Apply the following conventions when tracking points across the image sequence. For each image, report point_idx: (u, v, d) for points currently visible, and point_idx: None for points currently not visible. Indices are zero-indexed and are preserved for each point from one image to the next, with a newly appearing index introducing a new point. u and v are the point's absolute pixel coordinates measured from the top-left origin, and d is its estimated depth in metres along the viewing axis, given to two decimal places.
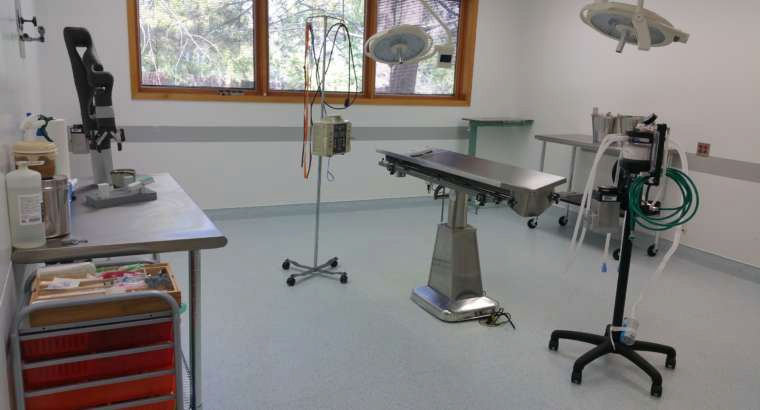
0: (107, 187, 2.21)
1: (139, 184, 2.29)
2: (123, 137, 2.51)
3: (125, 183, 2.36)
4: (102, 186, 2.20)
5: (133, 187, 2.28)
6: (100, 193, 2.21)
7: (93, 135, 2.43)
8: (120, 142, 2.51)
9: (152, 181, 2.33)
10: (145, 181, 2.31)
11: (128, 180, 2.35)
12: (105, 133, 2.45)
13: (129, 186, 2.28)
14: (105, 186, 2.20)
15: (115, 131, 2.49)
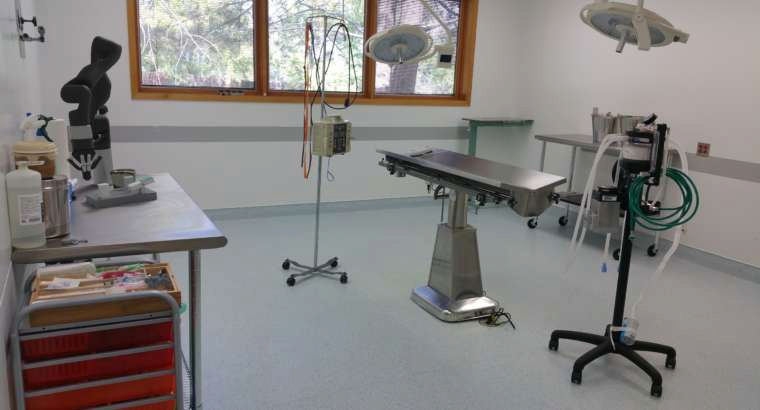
0: (107, 187, 2.21)
1: (139, 184, 2.29)
2: (95, 164, 2.16)
3: (125, 183, 2.36)
4: (102, 186, 2.20)
5: (133, 187, 2.28)
6: (100, 193, 2.21)
7: (73, 163, 2.11)
8: (89, 170, 2.15)
9: (152, 181, 2.33)
10: (145, 181, 2.31)
11: (128, 180, 2.35)
12: (82, 156, 2.12)
13: (129, 186, 2.28)
14: (105, 186, 2.20)
15: (93, 157, 2.16)
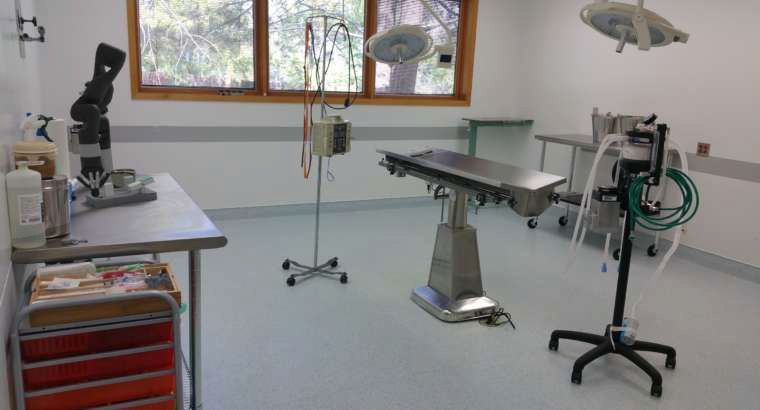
0: (111, 186, 2.22)
1: (139, 184, 2.29)
2: (103, 181, 2.20)
3: (125, 183, 2.36)
4: (106, 185, 2.21)
5: (133, 187, 2.28)
6: (104, 192, 2.22)
7: (81, 180, 2.14)
8: (97, 187, 2.19)
9: (152, 181, 2.33)
10: (145, 181, 2.31)
11: (128, 180, 2.35)
12: (90, 174, 2.16)
13: (129, 186, 2.28)
14: (109, 185, 2.21)
15: (101, 174, 2.19)
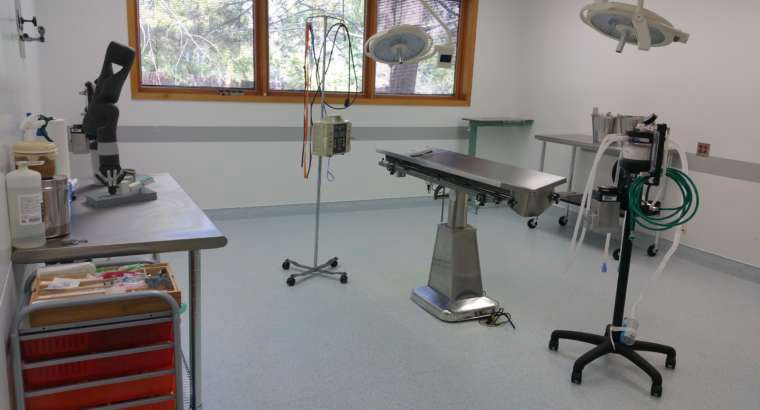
0: (128, 184, 2.26)
1: (139, 184, 2.29)
2: (120, 179, 2.24)
3: None
4: (123, 183, 2.25)
5: (133, 187, 2.28)
6: (121, 190, 2.26)
7: (99, 178, 2.19)
8: (114, 185, 2.23)
9: (152, 181, 2.33)
10: (145, 181, 2.31)
11: (128, 180, 2.35)
12: (108, 172, 2.20)
13: None
14: (126, 183, 2.26)
15: (118, 172, 2.24)
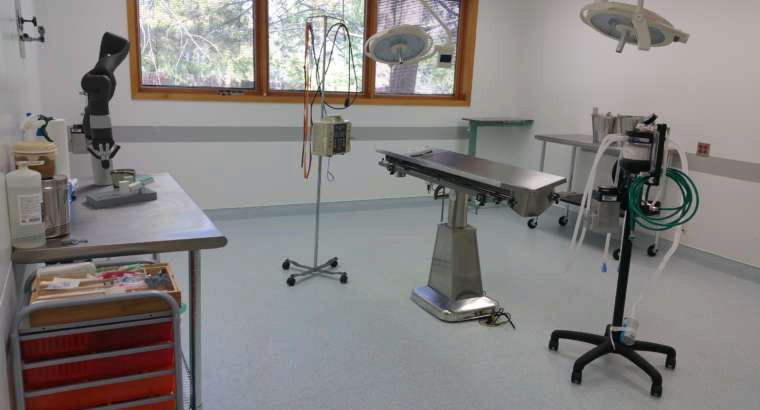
0: (127, 184, 2.26)
1: (139, 184, 2.29)
2: (113, 154, 2.20)
3: None
4: (123, 183, 2.25)
5: (133, 187, 2.28)
6: (121, 190, 2.26)
7: (91, 152, 2.16)
8: (107, 159, 2.19)
9: (152, 181, 2.33)
10: (145, 181, 2.31)
11: (128, 180, 2.35)
12: (100, 145, 2.16)
13: (129, 186, 2.28)
14: (126, 183, 2.26)
15: (111, 146, 2.20)
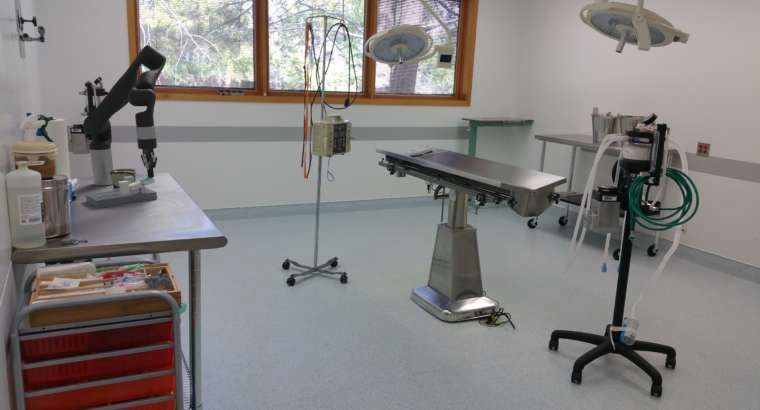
0: (127, 184, 2.26)
1: (139, 184, 2.29)
2: (149, 164, 2.29)
3: None
4: (123, 183, 2.25)
5: (133, 187, 2.28)
6: (121, 190, 2.26)
7: (142, 159, 2.34)
8: (147, 168, 2.31)
9: (152, 181, 2.33)
10: (145, 181, 2.31)
11: (128, 180, 2.35)
12: (142, 154, 2.31)
13: (129, 186, 2.28)
14: (126, 183, 2.26)
15: (148, 157, 2.29)
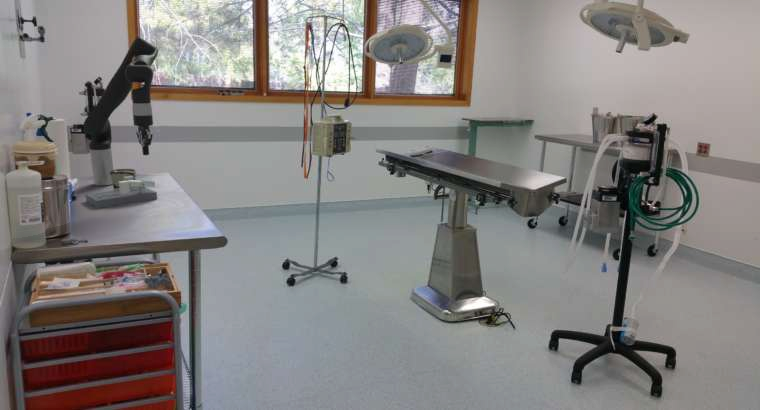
0: (127, 184, 2.26)
1: (139, 183, 2.29)
2: (144, 141, 2.27)
3: None
4: (123, 183, 2.25)
5: (133, 183, 2.27)
6: (121, 190, 2.26)
7: (137, 136, 2.32)
8: (142, 145, 2.29)
9: (152, 185, 2.33)
10: (146, 182, 2.31)
11: None
12: (138, 131, 2.29)
13: (129, 181, 2.28)
14: (126, 183, 2.26)
15: (144, 134, 2.27)
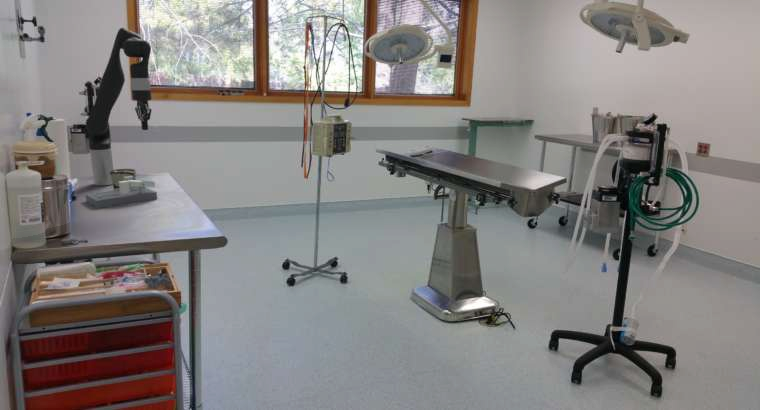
0: (127, 184, 2.26)
1: (139, 183, 2.29)
2: (143, 116, 2.30)
3: None
4: (123, 183, 2.25)
5: (133, 183, 2.27)
6: (121, 190, 2.26)
7: (136, 111, 2.35)
8: (141, 120, 2.32)
9: (152, 185, 2.33)
10: (146, 182, 2.31)
11: None
12: (137, 106, 2.32)
13: (129, 181, 2.28)
14: (126, 183, 2.26)
15: (143, 109, 2.29)
